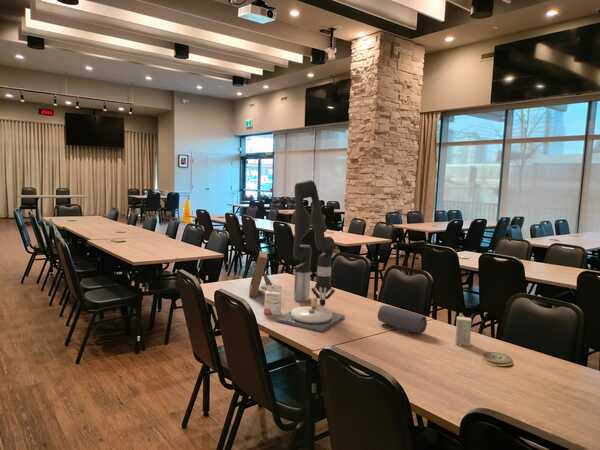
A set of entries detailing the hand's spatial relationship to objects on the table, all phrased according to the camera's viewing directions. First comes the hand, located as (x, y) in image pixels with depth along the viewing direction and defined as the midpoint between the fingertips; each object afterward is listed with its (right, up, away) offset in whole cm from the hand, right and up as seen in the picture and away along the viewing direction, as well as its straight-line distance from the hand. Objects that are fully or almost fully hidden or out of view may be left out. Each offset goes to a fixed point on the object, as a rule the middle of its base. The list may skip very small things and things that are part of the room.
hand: (322, 305), depth 223 cm
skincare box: (+62, -11, -33) cm, 71 cm away
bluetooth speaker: (+38, -9, -16) cm, 42 cm away
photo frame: (-36, 0, +40) cm, 54 cm away
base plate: (-6, -6, -8) cm, 11 cm away
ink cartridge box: (-27, -4, 0) cm, 27 cm away
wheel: (-6, -4, -8) cm, 11 cm away
